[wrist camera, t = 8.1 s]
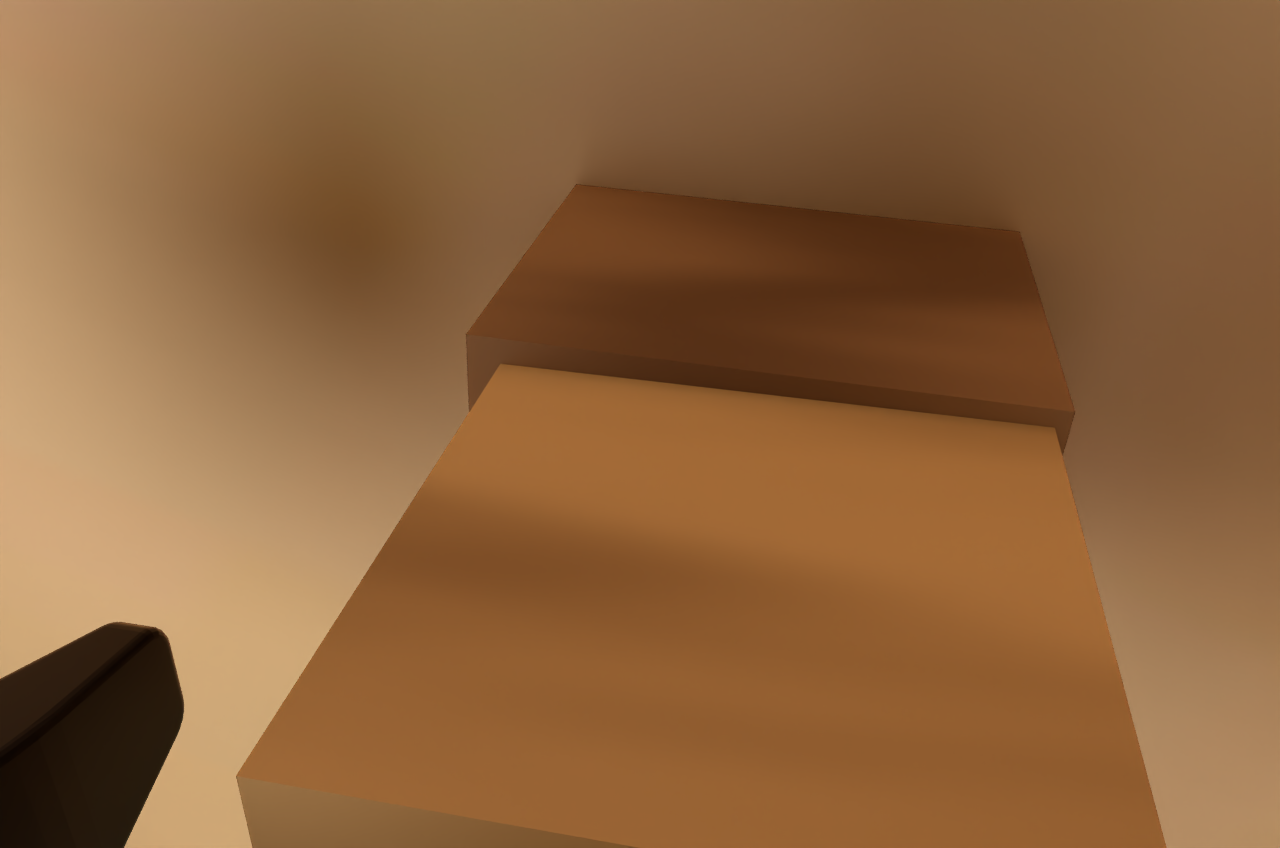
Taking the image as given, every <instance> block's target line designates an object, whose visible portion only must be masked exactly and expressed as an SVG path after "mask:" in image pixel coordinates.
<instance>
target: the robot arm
mask: <svg viewBox="0 0 1280 848" xmlns="http://www.w3.org/2000/svg"><path fill="white" fill-rule="evenodd" d="M183 713H184V700H183V695H182V691H181V687H180V683H179V679H178V675H177V671H176V667H175V663H174V659H173V655H172V651H171V647H170V643H169V640H168V637H167V636H166V635H165V634H164V633H163V631H162V630H160V629H158V628H156V627H150V626H143V625H137V624H131V623H124V622H113V623H109V624H106V625H104V626H102V627H100V628H98V629H96V630H94V631H92V632H90V633H88V634H86V635H84V636H82V637H80V638H78V639H77V640H75V641H73V642H71V643H69V644H67V645H65V646H63V647H61V648H59V649H57V650H55V651H53V652H51V653H49V654H47V655H46V656H44V657H42V658H40V659H38V660H36V661H34V662H32V663H30V664H28V665H26V666H24V667H22V668H20V669H18V670H17V671H15V672H13V673H11V674H9V675H7V676H5V677H3V678H1V679H0V848H124V846H125V844H126V842H127V840H128V838H129V836H130V834H131V831H132V829H133V827H134V825H135V823H136V821H137V819H138V817H139V815H140V812H141V810H142V808H143V806H144V804H145V802H146V800H147V798H148V796H149V793H150V791H151V789H152V787H153V785H154V783H155V781H156V779H157V777H158V775H159V772H160V770H161V768H162V766H163V764H164V762H165V760H166V758H167V756H168V753H169V751H170V749H171V747H172V745H173V743H174V741H175V739H176V737H177V734H178V732H179V729H180V727H181V723H182V720H183Z"/></svg>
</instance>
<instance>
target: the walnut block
mask: <svg viewBox="0 0 1280 848" xmlns="http://www.w3.org/2000/svg"><path fill="white" fill-rule="evenodd" d="M466 346H467V371H468V396H469V412H470V410H471V409H472V407H473V406H474V404H475V403H476V401H477V400H478V398H479V396H480V395H481V393H482V392H483V390H484V389H485V387H486V385H487V384H488V382H489V381H490V379H491V378H492V376H493V375H494V373H495V371H496V370H497V368H498V367H499V365H500V364H507V365H515V366H524V367H533V368H541V369H550V370H559V371H567V372H576V373H585V374H593V375H602V376H611V377H619V378H628V379H637V380H645V381H654V382H663V383H671V384H680V385H689V386H697V387H706V388H715V389H723V390H732V391H741V392H749V393H758V394H767V395H775V396H784V397H793V398H801V399H810V400H819V401H827V402H836V403H845V404H853V405H862V406H871V407H879V408H888V409H897V410H905V411H914V412H923V413H931V414H940V415H949V416H958V417H966V418H975V419H984V420H992V421H1001V422H1010V423H1018V424H1027V425H1036V426H1044V427H1053V428H1055V430H1056V434H1057V438H1058V442H1059V445H1060V449H1061V453H1062V456H1063V452H1064V449H1065V445H1066V442H1067V438H1068V435H1069V431H1070V428H1071V425H1072V421H1073V418H1074V414H1075V410H1074V407H1073V403H1072V400H1071V397H1070V394H1069V390H1068V387H1067V384H1066V381H1065V377H1064V374H1063V371H1062V368H1061V364H1060V361H1059V358H1058V355H1057V351H1056V348H1055V345H1054V342H1053V338H1052V335H1051V332H1050V329H1049V325H1048V322H1047V319H1046V316H1045V312H1044V309H1043V306H1042V303H1041V300H1040V296H1039V293H1038V290H1037V287H1036V283H1035V280H1034V277H1033V274H1032V270H1031V267H1030V264H1029V261H1028V257H1027V254H1026V251H1025V248H1024V244H1023V241H1022V238H1021V235H1020V232H1016V231H1007V230H998V229H988V228H979V227H970V226H960V225H951V224H942V223H932V222H923V221H914V220H904V219H895V218H885V217H876V216H867V215H857V214H848V213H839V212H829V211H820V210H811V209H801V208H792V207H783V206H773V205H764V204H755V203H745V202H736V201H726V200H717V199H708V198H698V197H689V196H680V195H670V194H661V193H652V192H642V191H633V190H624V189H614V188H605V187H596V186H586V185H577V184H576V185H575V187H574V188H573V190H572V191H571V192H570V194H569V195H568V196H567V198H566V199H565V200H564V202H563V203H562V205H561V206H560V207H559V209H558V210H557V211H556V213H555V214H554V215H553V217H552V218H551V220H550V221H549V222H548V224H547V225H546V226H545V228H544V229H543V230H542V232H541V233H540V234H539V236H538V237H537V239H536V240H535V241H534V243H533V244H532V245H531V247H530V248H529V249H528V251H527V252H526V254H525V255H524V256H523V258H522V259H521V260H520V262H519V263H518V264H517V266H516V267H515V269H514V270H513V271H512V273H511V274H510V275H509V277H508V278H507V279H506V281H505V282H504V283H503V285H502V286H501V288H500V289H499V290H498V292H497V293H496V294H495V296H494V297H493V298H492V300H491V301H490V303H489V304H488V305H487V307H486V308H485V309H484V311H483V312H482V313H481V315H480V316H479V318H478V319H477V320H476V322H475V323H474V324H473V326H472V327H471V328H470V330H469V331H468V332H467V334H466Z"/></svg>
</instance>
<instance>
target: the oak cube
mask: <svg viewBox="0 0 1280 848" xmlns="http://www.w3.org/2000/svg"><path fill="white" fill-rule="evenodd" d="M236 778H237V782H238V787H239V791H240V795H241V800H242V804H243V808H244V813H245V817H246V821H247V826H248V830H249V834H250V839H251V843H252V847H253V848H1166V844H1165V841H1164V837H1163V833H1162V829H1161V825H1160V822H1159V818H1158V814H1157V810H1156V807H1155V803H1154V799H1153V795H1152V792H1151V788H1150V784H1149V780H1148V777H1147V773H1146V769H1145V765H1144V761H1143V758H1142V754H1141V750H1140V746H1139V743H1138V739H1137V735H1136V731H1135V728H1134V724H1133V720H1132V716H1131V713H1130V709H1129V705H1128V701H1127V698H1126V694H1125V690H1124V686H1123V682H1122V679H1121V675H1120V671H1119V667H1118V664H1117V660H1116V656H1115V652H1114V649H1113V645H1112V641H1111V637H1110V634H1109V630H1108V626H1107V622H1106V618H1105V615H1104V611H1103V607H1102V603H1101V600H1100V596H1099V592H1098V588H1097V585H1096V581H1095V577H1094V573H1093V570H1092V566H1091V562H1090V558H1089V554H1088V551H1087V547H1086V543H1085V539H1084V536H1083V532H1082V528H1081V524H1080V521H1079V517H1078V513H1077V509H1076V506H1075V502H1074V498H1073V494H1072V491H1071V487H1070V483H1069V479H1068V475H1067V472H1066V468H1065V464H1064V460H1063V457H1062V453H1061V449H1060V445H1059V442H1058V438H1057V434H1056V430H1055V428H1053V427H1044V426H1036V425H1027V424H1018V423H1010V422H1001V421H992V420H984V419H975V418H966V417H958V416H949V415H940V414H931V413H923V412H914V411H905V410H897V409H888V408H879V407H871V406H862V405H853V404H845V403H836V402H827V401H819V400H810V399H801V398H793V397H784V396H775V395H767V394H758V393H749V392H741V391H732V390H723V389H715V388H706V387H697V386H689V385H680V384H671V383H663V382H654V381H645V380H637V379H628V378H619V377H611V376H602V375H593V374H585V373H576V372H567V371H559V370H550V369H541V368H533V367H524V366H515V365H507V364H500V365H499V367H498V368H497V370H496V371H495V373H494V375H493V376H492V378H491V379H490V381H489V382H488V384H487V385H486V387H485V389H484V390H483V392H482V393H481V395H480V396H479V398H478V400H477V401H476V403H475V404H474V406H473V407H472V409H471V410H470V412H469V414H468V415H467V417H466V418H465V420H464V421H463V423H462V424H461V426H460V428H459V429H458V431H457V432H456V434H455V435H454V437H453V439H452V440H451V442H450V443H449V445H448V446H447V448H446V449H445V451H444V453H443V454H442V456H441V457H440V459H439V460H438V462H437V463H436V465H435V467H434V468H433V470H432V471H431V473H430V474H429V476H428V478H427V479H426V481H425V482H424V484H423V485H422V487H421V488H420V490H419V492H418V493H417V495H416V496H415V498H414V499H413V501H412V502H411V504H410V506H409V507H408V509H407V510H406V512H405V513H404V515H403V517H402V518H401V520H400V521H399V523H398V524H397V526H396V527H395V529H394V531H393V532H392V534H391V535H390V537H389V538H388V540H387V541H386V543H385V545H384V546H383V548H382V549H381V551H380V552H379V554H378V556H377V557H376V559H375V560H374V562H373V563H372V565H371V566H370V568H369V570H368V571H367V573H366V574H365V576H364V577H363V579H362V580H361V582H360V584H359V585H358V587H357V588H356V590H355V591H354V593H353V595H352V596H351V598H350V599H349V601H348V602H347V604H346V605H345V607H344V609H343V610H342V612H341V613H340V615H339V616H338V618H337V619H336V621H335V623H334V624H333V626H332V627H331V629H330V630H329V632H328V634H327V635H326V637H325V638H324V640H323V641H322V643H321V644H320V646H319V648H318V649H317V651H316V652H315V654H314V655H313V657H312V659H311V660H310V662H309V663H308V665H307V666H306V668H305V669H304V671H303V673H302V674H301V676H300V677H299V679H298V680H297V682H296V683H295V685H294V687H293V688H292V690H291V691H290V693H289V694H288V696H287V698H286V699H285V701H284V702H283V704H282V705H281V707H280V708H279V710H278V712H277V713H276V715H275V716H274V718H273V719H272V721H271V722H270V724H269V726H268V727H267V729H266V730H265V732H264V733H263V735H262V737H261V738H260V740H259V741H258V743H257V744H256V746H255V747H254V749H253V751H252V752H251V754H250V755H249V757H248V758H247V760H246V761H245V763H244V765H243V766H242V768H241V769H240V771H239V772H238V774H237V776H236Z"/></svg>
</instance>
